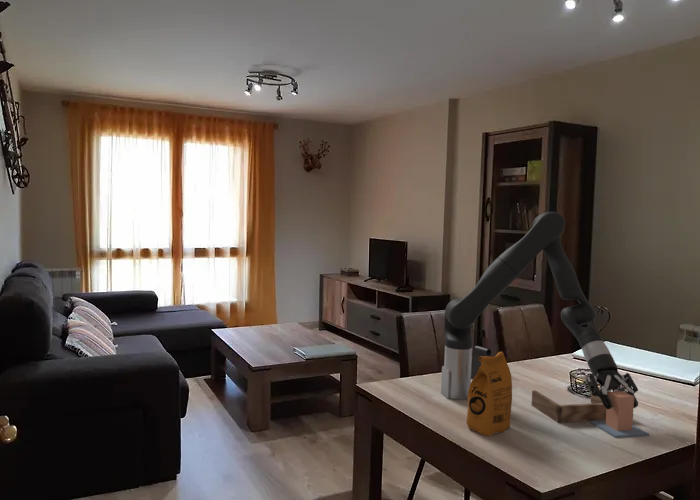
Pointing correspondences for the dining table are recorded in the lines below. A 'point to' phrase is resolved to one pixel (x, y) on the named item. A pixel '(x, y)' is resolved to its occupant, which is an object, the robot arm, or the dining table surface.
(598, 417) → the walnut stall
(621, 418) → the terracotta block
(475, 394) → the coffee package
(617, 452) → the dining table surface
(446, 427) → the dining table surface
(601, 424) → the slate mat
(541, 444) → the dining table surface
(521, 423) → the dining table surface
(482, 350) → the door stopper
